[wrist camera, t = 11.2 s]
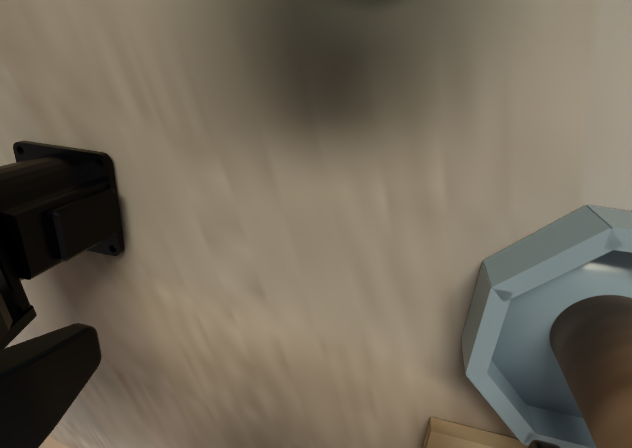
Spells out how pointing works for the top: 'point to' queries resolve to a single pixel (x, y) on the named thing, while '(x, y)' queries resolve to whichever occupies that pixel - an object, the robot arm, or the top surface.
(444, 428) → the trivet
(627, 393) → the pepper mill
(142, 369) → the top surface
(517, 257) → the dish
